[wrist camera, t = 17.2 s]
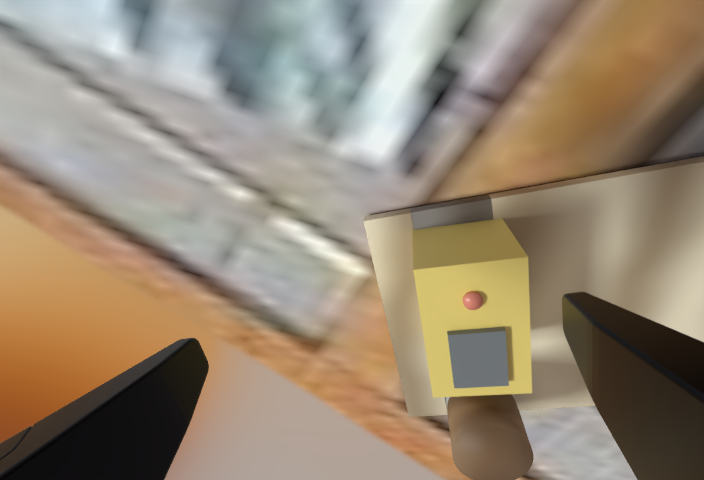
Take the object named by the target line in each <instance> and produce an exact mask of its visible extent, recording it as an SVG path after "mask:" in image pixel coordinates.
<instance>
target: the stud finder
mask: <svg viewBox="0 0 704 480" xmlns="http://www.w3.org/2000/svg"><path fill="white" fill-rule="evenodd" d="M412 242H413V271H414V278H415V284H416V291H417V297H418V304H419V310H420V317H421V323H422V330H423V336H424V343H425V349H426V356H427V362H428V369H429V375H430V382H431V388H432V395H433V398H436V397H458V396H481V395H503V394H525V393H532V371H531V336H530V301H529V266H528V256H527V254H526V253H525V251H524V250H523V248H522V247H521V245H520V244H519V243H518V241H517V240H516V238H515V237H514V235H513V234H512V232H511V231H510V229H509V228H508V226H507V225H506V223H505V222H504V220H503V219H502V218H501V219H493V220H485V221H478V222H470V223H463V224H455V225H448V226H440V227H433V228H425V229H418V230H412Z"/></svg>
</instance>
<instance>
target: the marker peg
mask: <svg viewBox="0 0 704 480" xmlns="http://www.w3.org/2000/svg"><path fill="white" fill-rule="evenodd" d="M446 404H447V412H448V421H449V429H450V438H451V446H452V455H453V461H454V463H455V465H456V467H457V468H458V469H459V471H460V472H462V473H463V474H464V475H466V476H467V477H469V478H471V479H473V480H515V479H517V478H519V477H521V476H522V475H524V474H525V473H526V472H527V471H528V470H529V469H530V467H531V465H532V463H533V452H532V449H531V446H530V443H529V440H528V437H527V434H526V431H525V428H524V425H523V422H522V419H521V416H520V413H519V410H518V407H517V404H516V401H515V398H514V395H513V394H503V395H481V396H458V397H446Z"/></svg>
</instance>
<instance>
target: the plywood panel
mask: <svg viewBox="0 0 704 480" xmlns="http://www.w3.org/2000/svg"><path fill="white" fill-rule="evenodd" d="M501 218H502V219H503V220H504V222H505V223H506V225H507V226H508V228H509V229H510V231H511V232H512V234H513V235H514V237H515V238H516V240H517V241H518V243H519V244H520V245H521V247H522V248H523V250H524V251H525V253H526V254H527V256H528V266H529V301H530V336H531V371H532V393H525V394H513V395H514V398H515V401H516V404H517V407H518V410H532V409H549V408H565V407H582V406H595V404H594V402H593V400H592V398H591V396H590V393H589V391H588V389H587V387H586V384H585V382H584V380H583V377H582V375H581V373H580V370H579V368H578V366H577V363H576V361H575V358H574V356H573V354H572V351H571V349H570V347H569V344H568V342H567V340H566V337H565V334H564V331H563V320H562V297H563V295H564V294H567V293H574V292H586V293H589V294H591V295H593V296H596V297H598V298H600V299H603V300H605V301H608V302H610V303H612V304H615V305H617V306H619V307H622V308H624V309H626V310H629V311H631V312H634V313H636V314H638V315H641V316H643V317H645V318H648V319H650V320H652V321H655V322H657V323H660V324H662V325H664V326H667V327H669V328H671V329H674V330H676V331H678V332H681V333H683V334H686V335H688V336H690V337H693V338H695V339H697V340H700V341H702V342H704V156H702V157H696V158H691V159H685V160H679V161H674V162H668V163H662V164H657V165H651V166H646V167H640V168H634V169H629V170H623V171H617V172H612V173H606V174H600V175H595V176H589V177H583V178H578V179H572V180H567V181H561V182H555V183H550V184H544V185H538V186H533V187H527V188H521V189H516V190H510V191H504V192H499V193H493V194H487V195H482V196H476V197H471V198H465V199H459V200H454V201H448V202H442V203H437V204H431V205H425V206H420V207H414V208H408V209H403V210H397V211H391V212H386V213H380V214H375V215H369V216H365V218H364V225H365V230H366V234H367V238H368V242H369V247H370V251H371V255H372V260H373V264H374V268H375V272H376V277H377V281H378V285H379V289H380V294H381V298H382V302H383V307H384V311H385V315H386V319H387V324H388V328H389V332H390V337H391V341H392V345H393V349H394V354H395V358H396V362H397V366H398V371H399V375H400V379H401V384H402V388H403V392H404V396H405V401H406V405H407V409H408V414H409V417H416V416H433V415H448V412H447V404H446V397H436V398H433V395H432V388H431V382H430V375H429V369H428V362H427V356H426V349H425V343H424V336H423V330H422V323H421V317H420V310H419V304H418V297H417V291H416V284H415V278H414V271H413V242H412V230H418V229H425V228H433V227H440V226H448V225H455V224H463V223H470V222H478V221H485V220H493V219H501Z"/></svg>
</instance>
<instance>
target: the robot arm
mask: <svg viewBox="0 0 704 480" xmlns="http://www.w3.org/2000/svg"><path fill="white" fill-rule="evenodd" d="M562 320H563V331H564V334H565V337H566V340H567V342H568V344H569V347H570V349H571V351H572V354H573V356H574V358H575V361H576V363H577V366H578V368H579V370H580V373H581V375H582V377H583V380H584V382H585V384H586V387H587V389H588V391H589V393H590V396H591V398H592V400H593V402H594V404H595V406H596V407H597V409H598V411H599V413H600V415H601V416H602V418H603V420H604V422H605V423H606V425H607V427H608V429H609V430H610V432H611V434H612V436H613V437H614V439H615V441H616V443H617V444H618V446H619V448H620V450H621V451H622V453H623V455H624V457H625V458H626V460H627V462H628V464H629V465H630V467H631V469H632V471H633V472H634V474H635V476H636V478H637V479H638V480H704V342H702V341H700V340H697V339H695V338H693V337H690V336H688V335H686V334H683V333H681V332H678V331H676V330H674V329H671V328H669V327H667V326H664V325H662V324H660V323H657V322H655V321H652V320H650V319H648V318H645V317H643V316H641V315H638V314H636V313H634V312H631V311H629V310H626V309H624V308H622V307H619V306H617V305H615V304H612V303H610V302H608V301H605V300H603V299H600V298H598V297H596V296H593V295H591V294H589V293H586V292H574V293H567V294H564V295H563V297H562ZM208 368H209V365H208V361H207V359H206V356H205V354H204V352H203V350H202V348H201V345H200V343H199V341H198V340H197V339H195V338H188V339H181V340H178V341H176V342H175V343H173V344H171V345H170V346H168V347H166V348H164V349H163V350H161V351H159V352H157V353H156V354H154V355H152V356H151V357H149V358H147V359H145V360H144V361H142V362H140V363H138V364H137V365H135V366H133V367H132V368H130V369H128V370H126V371H125V372H123V373H121V374H119V375H118V376H116V377H114V378H113V379H111V380H109V381H108V382H106V383H104V384H102V385H101V386H99V387H97V388H95V389H94V390H92V391H90V392H88V393H87V394H85V395H83V396H82V397H80V398H78V399H76V400H75V401H73V402H71V403H69V404H68V405H66V406H64V407H63V408H61V409H59V410H57V411H56V412H54V413H52V414H51V415H49V416H47V417H45V418H44V419H42V420H40V421H39V422H37V423H35V424H34V425H33V426H30V427H28V428H26V429H25V430H23V431H21V432H19V433H18V434H16V435H14V436H12V437H11V438H9V439H7V440H5V441H4V442H2V443H0V480H164V479H165V477H166V474H167V472H168V470H169V468H170V466H171V464H172V461H173V459H174V457H175V455H176V453H177V451H178V449H179V446H180V444H181V442H182V440H183V437H184V435H185V433H186V431H187V429H188V426H189V424H190V421H191V418H192V416H193V413H194V410H195V407H196V404H197V401H198V399H199V396H200V393H201V390H202V387H203V385H204V382H205V379H206V376H207V373H208Z"/></svg>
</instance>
